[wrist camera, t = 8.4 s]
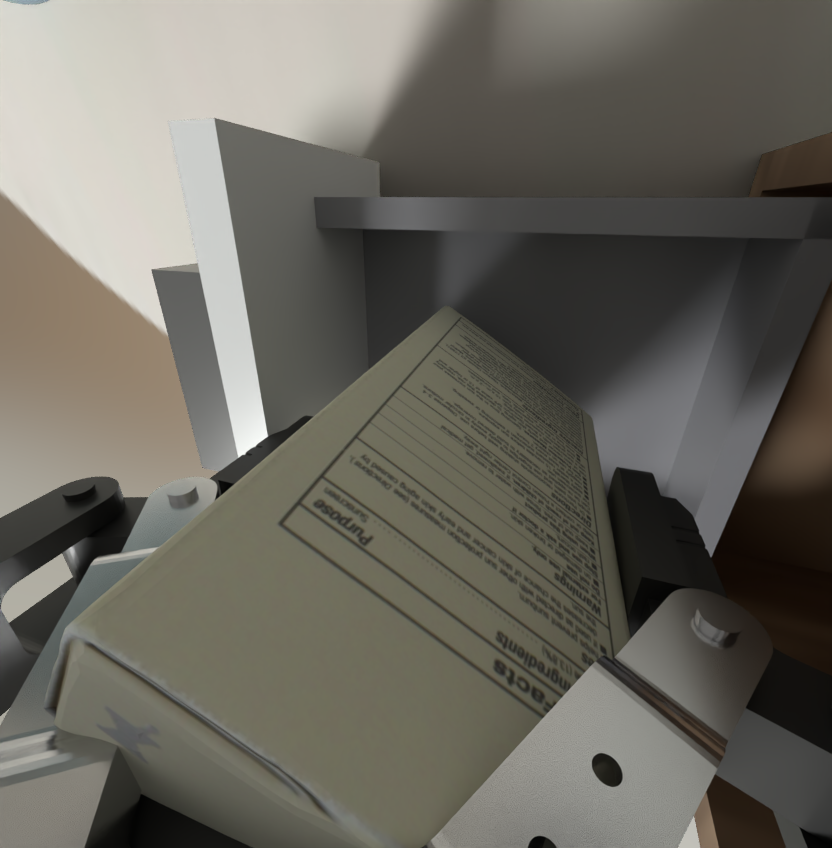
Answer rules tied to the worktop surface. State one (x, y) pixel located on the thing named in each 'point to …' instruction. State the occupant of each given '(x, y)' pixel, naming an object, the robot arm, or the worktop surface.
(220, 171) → the drawer
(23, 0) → the teal planter pot
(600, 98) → the worktop surface
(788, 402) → the wood grain block
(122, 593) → the skincare box
